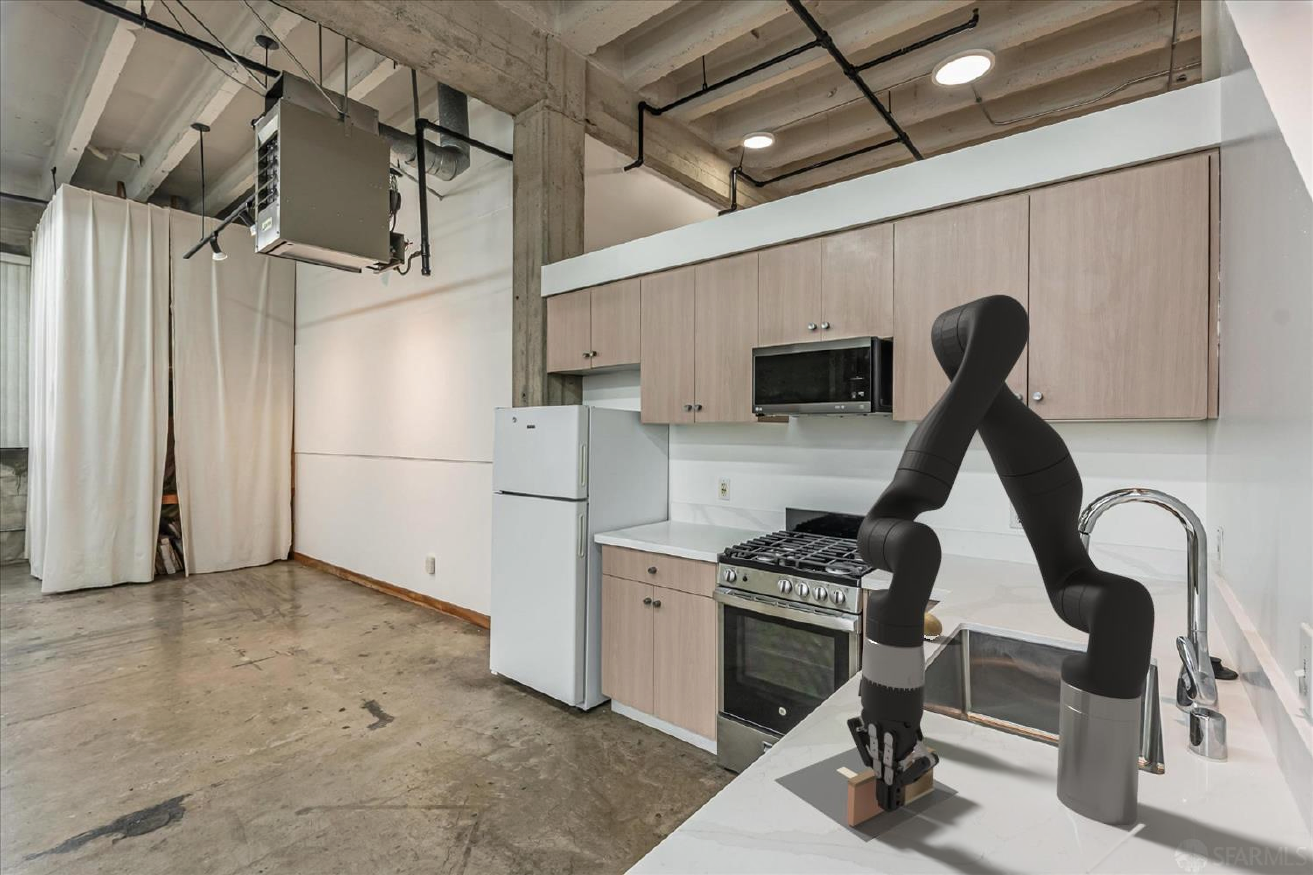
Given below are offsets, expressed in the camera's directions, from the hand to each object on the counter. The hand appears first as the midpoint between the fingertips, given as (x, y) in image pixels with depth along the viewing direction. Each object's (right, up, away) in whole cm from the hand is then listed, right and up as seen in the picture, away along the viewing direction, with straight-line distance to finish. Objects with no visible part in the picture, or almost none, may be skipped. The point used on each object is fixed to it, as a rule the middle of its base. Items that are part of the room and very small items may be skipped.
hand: (887, 807), depth 79 cm
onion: (+40, -5, +81) cm, 91 cm away
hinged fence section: (-1, -3, +3) cm, 4 cm away
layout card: (+1, -4, +10) cm, 11 cm away
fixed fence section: (+7, -3, +9) cm, 11 cm away
